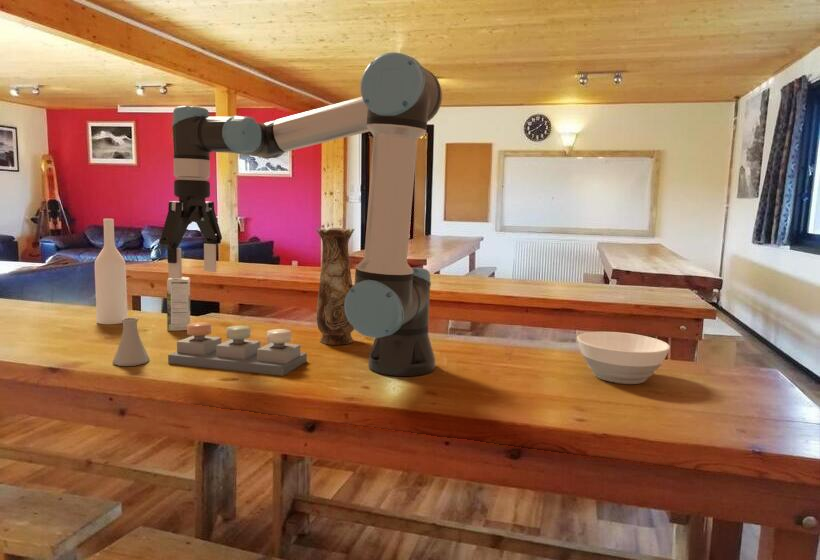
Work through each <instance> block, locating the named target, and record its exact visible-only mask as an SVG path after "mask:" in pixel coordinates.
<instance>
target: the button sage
mask: <svg viewBox="0 0 820 560" xmlns="http://www.w3.org/2000/svg"><path fill="white" fill-rule="evenodd" d="M225 329H226V337H225V338H226V339H228V340H231V339H233V345H241V346H242V345H244V340H247V339H250V338H251V327H250V326H248V325H230V326H228V327H226V328H225Z"/></svg>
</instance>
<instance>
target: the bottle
mask: <svg viewBox="0 0 820 560" xmlns="http://www.w3.org/2000/svg"><path fill="white" fill-rule="evenodd" d="M115 242H116V241H115V220H114V218H103V248H102V249H101V250H100V252H99V254H98V255H97V257H96V259H95V260H94V287H95V288H94V289H95V307H96V308H95V313H96V323H97V324H98V325H119V324H123V322H122V321H121V320H122V319H124V318H129V317H128V316H129V315H128V293H127V292H128V291H127V288H128V287H127V286H128V285H127V265H126V261H125V258H124V257H123V255H122V254H121V253H120V251H119V250H118V248H117V247H116V243H115Z"/></svg>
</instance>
